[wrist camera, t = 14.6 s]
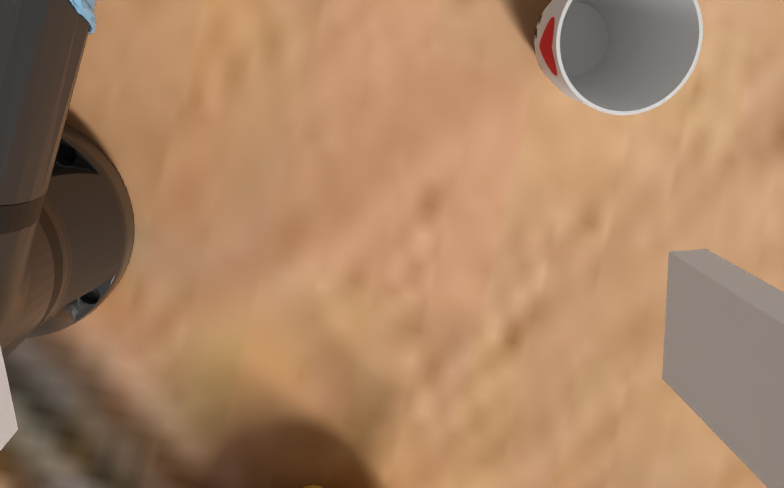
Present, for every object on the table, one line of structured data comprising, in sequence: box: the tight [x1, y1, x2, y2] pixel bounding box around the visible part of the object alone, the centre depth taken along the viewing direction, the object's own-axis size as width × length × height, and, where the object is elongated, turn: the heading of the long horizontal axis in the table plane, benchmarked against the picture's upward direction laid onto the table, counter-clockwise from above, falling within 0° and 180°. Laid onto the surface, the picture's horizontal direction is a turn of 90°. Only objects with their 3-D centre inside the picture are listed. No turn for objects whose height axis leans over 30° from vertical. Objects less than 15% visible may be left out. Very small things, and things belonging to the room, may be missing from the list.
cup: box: [534, 0, 703, 115], centre depth 44 cm, size 8×8×10 cm
